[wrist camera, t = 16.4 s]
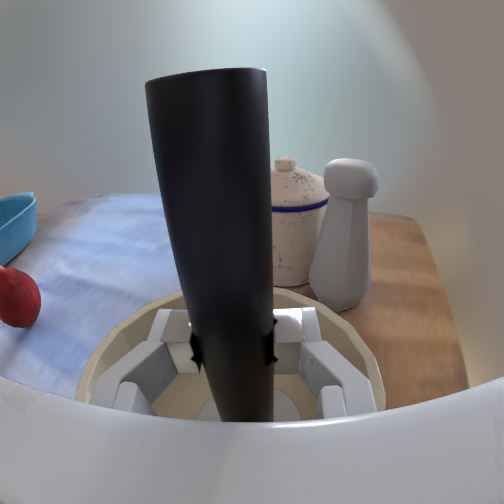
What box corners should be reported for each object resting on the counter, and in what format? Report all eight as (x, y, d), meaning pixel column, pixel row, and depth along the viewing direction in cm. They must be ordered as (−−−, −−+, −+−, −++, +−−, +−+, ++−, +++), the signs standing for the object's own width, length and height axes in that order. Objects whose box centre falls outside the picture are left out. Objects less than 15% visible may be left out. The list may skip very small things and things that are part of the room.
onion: (48, 301, 28) (21, 242, 24) (55, 330, 24) (21, 265, 20) (11, 320, 25) (-20, 263, 21) (13, 351, 21) (-26, 290, 17)
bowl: (337, 335, 24) (349, 278, 20) (370, 530, 10) (412, 520, 6) (146, 336, 24) (125, 283, 21) (96, 514, 11) (40, 491, 7)
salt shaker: (353, 327, 24) (380, 180, 17) (296, 305, 27) (300, 165, 20) (372, 289, 28) (395, 161, 21) (322, 272, 31) (330, 149, 24)
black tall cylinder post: (296, 399, 17) (313, 72, 8) (301, 479, 12) (386, 66, 3) (209, 399, 17) (135, 88, 8) (199, 477, 13) (15, 117, 3)
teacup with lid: (323, 242, 36) (328, 148, 30) (330, 290, 28) (342, 175, 22) (226, 241, 37) (216, 149, 31) (209, 287, 30) (192, 175, 23)
